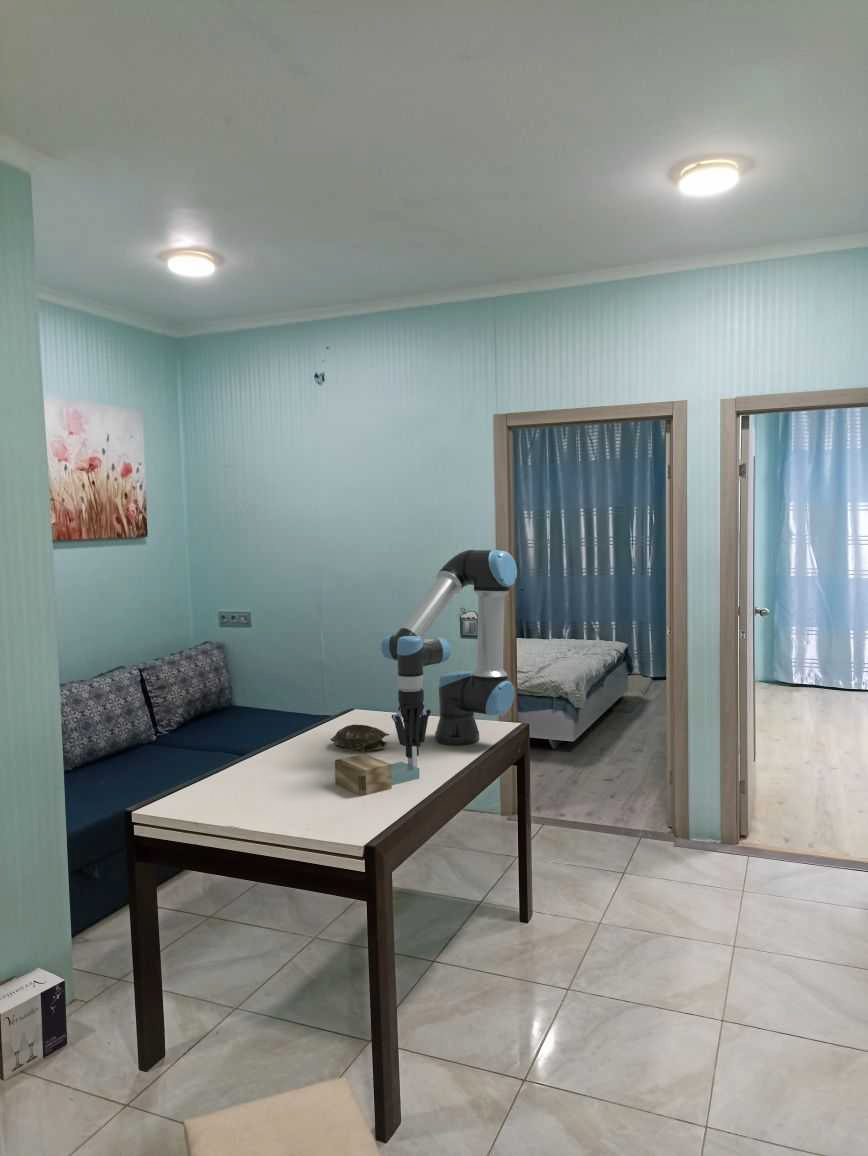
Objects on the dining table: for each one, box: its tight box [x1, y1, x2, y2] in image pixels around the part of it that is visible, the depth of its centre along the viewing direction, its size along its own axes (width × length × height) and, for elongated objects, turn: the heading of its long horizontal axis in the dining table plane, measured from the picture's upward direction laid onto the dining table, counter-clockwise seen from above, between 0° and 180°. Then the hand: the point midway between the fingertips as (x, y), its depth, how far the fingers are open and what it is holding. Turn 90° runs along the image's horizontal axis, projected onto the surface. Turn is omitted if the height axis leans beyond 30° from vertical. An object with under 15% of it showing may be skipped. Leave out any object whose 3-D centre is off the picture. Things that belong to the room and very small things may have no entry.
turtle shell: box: [330, 724, 391, 753], centre depth 287 cm, size 16×9×20 cm
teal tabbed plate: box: [390, 761, 421, 786], centre depth 251 cm, size 14×9×3 cm, turn 127°
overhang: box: [334, 753, 393, 797], centre depth 245 cm, size 10×14×7 cm
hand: (412, 767), depth 255 cm, fingers closed
